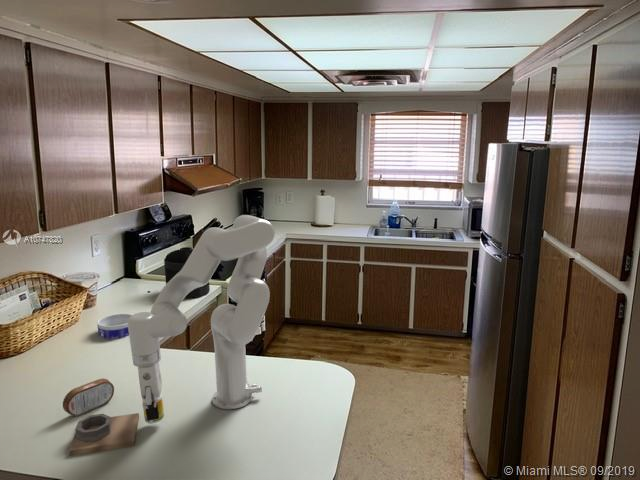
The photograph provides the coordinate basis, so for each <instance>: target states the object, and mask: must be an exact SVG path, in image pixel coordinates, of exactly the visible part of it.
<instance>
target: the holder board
mask: <svg viewBox="0 0 640 480" xmlns="http://www.w3.org/2000/svg"><path fill="white" fill-rule="evenodd" d="M139 420H140V413H138V412H137V413H129V414H123V415H117V416H109V415H107V414H105V413H98V414H90V415H87V416H86V417H85V418H82V419H81V420H79V421H77V424H76V426H75V435H74V437H73V439H72V443H70V447H69V450H68V451H69V452H68V454H69V457H70V456H77V455H83V454H89V453H90V454H92V453H96V452H101V451H103V452H104V451H108V450H115V449H122V448H128V447H135V440H136V436H137V431H138V426H139Z"/></svg>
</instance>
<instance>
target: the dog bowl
mask: <svg viewBox="0 0 640 480" xmlns="http://www.w3.org/2000/svg"><path fill="white" fill-rule="evenodd" d="M132 315H133V314H131V313H113V314H110V315H107V316H104V317H101V318H100V319H98V320H97V321H96V323H97V325H96V326H97V331H98V337H99V338H101V339H103V338H104V340H117V338H118V339H123V338H127V337H129V330H128V319H129V317H131V316H132ZM126 336H127V337H126ZM122 337H123V338H122Z"/></svg>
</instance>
